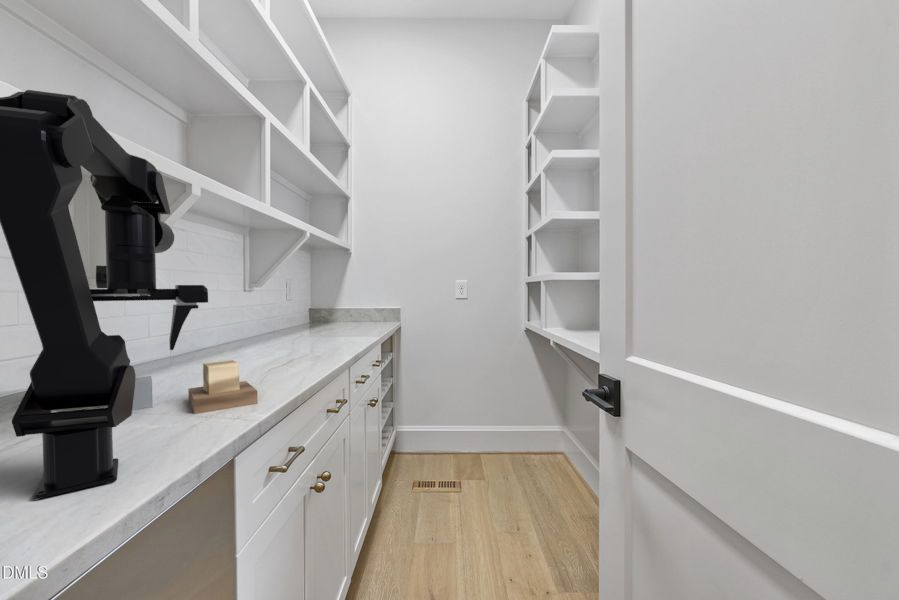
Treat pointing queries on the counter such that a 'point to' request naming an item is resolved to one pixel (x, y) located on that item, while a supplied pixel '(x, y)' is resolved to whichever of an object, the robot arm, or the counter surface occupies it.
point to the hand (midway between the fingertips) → (133, 352)
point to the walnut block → (222, 398)
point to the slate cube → (143, 393)
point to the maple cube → (220, 376)
